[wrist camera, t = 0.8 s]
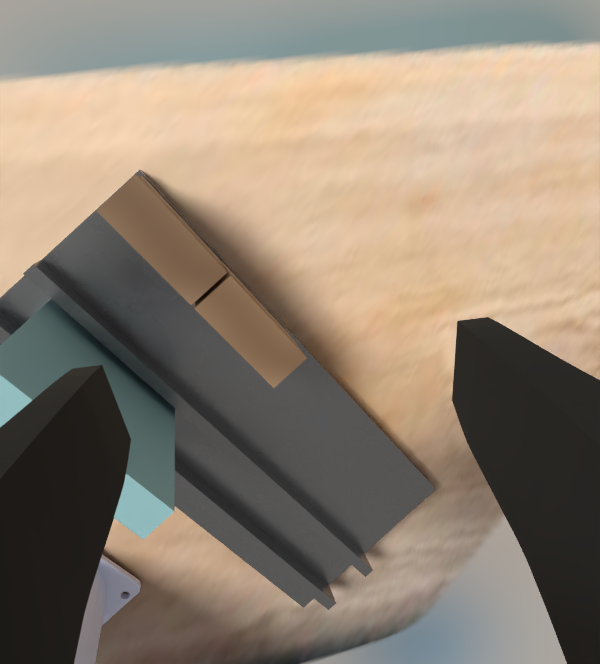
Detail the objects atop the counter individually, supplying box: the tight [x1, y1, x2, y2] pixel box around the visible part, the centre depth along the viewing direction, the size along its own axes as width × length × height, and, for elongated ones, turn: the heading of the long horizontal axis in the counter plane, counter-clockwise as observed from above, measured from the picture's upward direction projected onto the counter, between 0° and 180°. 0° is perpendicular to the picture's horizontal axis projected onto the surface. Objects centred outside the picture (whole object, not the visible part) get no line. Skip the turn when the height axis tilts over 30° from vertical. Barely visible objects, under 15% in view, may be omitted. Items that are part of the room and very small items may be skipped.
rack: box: [0, 170, 435, 610], centre depth 27 cm, size 11×25×2 cm, turn 40°
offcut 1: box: [97, 175, 227, 305], centre depth 22 cm, size 2×5×4 cm, turn 40°
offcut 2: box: [194, 261, 307, 388], centre depth 24 cm, size 2×5×4 cm, turn 41°
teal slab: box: [0, 299, 175, 539], centre depth 21 cm, size 2×8×9 cm, turn 40°
